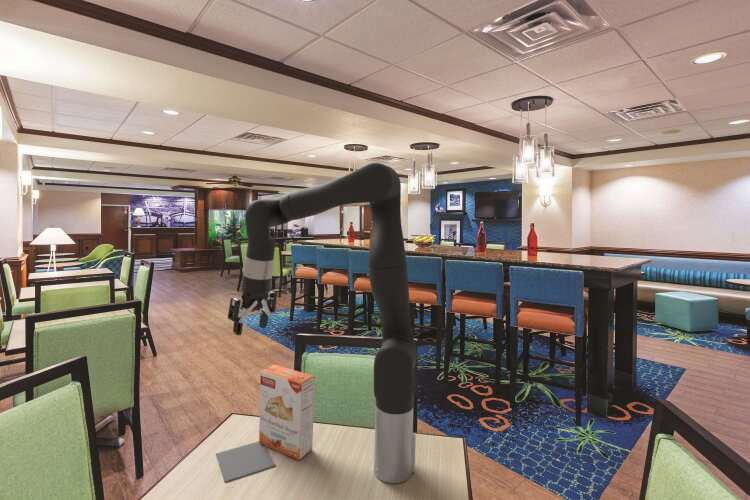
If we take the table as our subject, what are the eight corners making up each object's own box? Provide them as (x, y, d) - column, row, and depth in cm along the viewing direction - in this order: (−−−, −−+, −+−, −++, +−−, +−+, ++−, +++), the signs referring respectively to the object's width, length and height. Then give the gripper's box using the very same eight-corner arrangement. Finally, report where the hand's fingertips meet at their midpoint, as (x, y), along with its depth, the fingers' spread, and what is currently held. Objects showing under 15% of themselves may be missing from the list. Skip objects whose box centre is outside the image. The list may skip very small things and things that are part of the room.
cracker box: (257, 444, 105) (259, 370, 103) (273, 434, 110) (275, 362, 108) (298, 462, 98) (301, 383, 96) (313, 450, 104) (315, 374, 102)
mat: (262, 441, 107) (262, 440, 107) (275, 466, 97) (275, 465, 97) (215, 454, 101) (215, 453, 101) (224, 482, 91) (224, 481, 91)
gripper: (245, 281, 96) (237, 342, 98) (287, 275, 108) (279, 329, 110) (226, 273, 99) (219, 332, 102) (268, 268, 112) (261, 321, 114)
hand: (250, 330), depth 106 cm, fingers open, 8 cm apart
